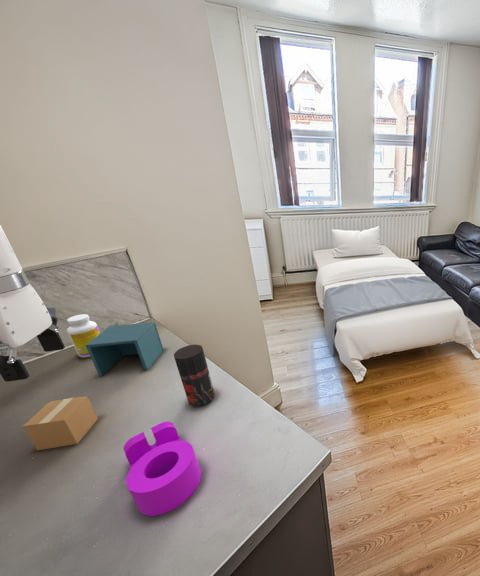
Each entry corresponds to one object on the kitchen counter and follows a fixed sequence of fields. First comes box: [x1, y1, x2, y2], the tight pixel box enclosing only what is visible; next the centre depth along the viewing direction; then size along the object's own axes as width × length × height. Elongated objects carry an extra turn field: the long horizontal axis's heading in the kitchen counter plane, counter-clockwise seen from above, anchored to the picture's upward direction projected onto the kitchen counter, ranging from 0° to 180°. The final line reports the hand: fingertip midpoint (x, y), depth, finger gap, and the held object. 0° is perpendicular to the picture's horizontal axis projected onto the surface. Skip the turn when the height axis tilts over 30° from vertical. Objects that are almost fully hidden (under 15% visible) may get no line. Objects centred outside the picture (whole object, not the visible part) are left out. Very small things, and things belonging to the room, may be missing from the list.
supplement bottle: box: [66, 313, 101, 359], centre depth 91 cm, size 7×7×13 cm
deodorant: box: [173, 344, 216, 409], centre depth 72 cm, size 6×6×15 cm
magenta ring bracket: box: [123, 421, 202, 517], centre depth 55 cm, size 16×10×6 cm, turn 48°
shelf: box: [86, 321, 164, 377], centre depth 87 cm, size 11×12×11 cm
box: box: [22, 396, 99, 451], centre depth 63 cm, size 7×7×7 cm
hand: (38, 363), depth 57 cm, fingers open, 9 cm apart
